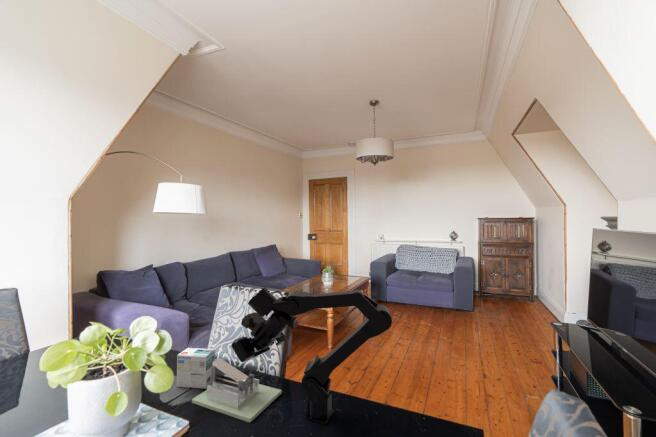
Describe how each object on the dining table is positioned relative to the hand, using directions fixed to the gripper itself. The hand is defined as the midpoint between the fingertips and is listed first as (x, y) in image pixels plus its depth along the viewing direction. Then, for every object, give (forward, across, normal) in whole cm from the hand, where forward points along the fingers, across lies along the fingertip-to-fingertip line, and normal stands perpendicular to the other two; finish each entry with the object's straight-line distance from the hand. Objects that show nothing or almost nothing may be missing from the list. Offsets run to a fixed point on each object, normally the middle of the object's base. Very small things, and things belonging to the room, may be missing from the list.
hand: (245, 358), depth 93 cm
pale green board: (+12, -1, +6) cm, 13 cm away
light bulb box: (+24, 0, -7) cm, 26 cm away
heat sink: (+12, 0, +5) cm, 13 cm away
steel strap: (+7, +1, 0) cm, 7 cm away
